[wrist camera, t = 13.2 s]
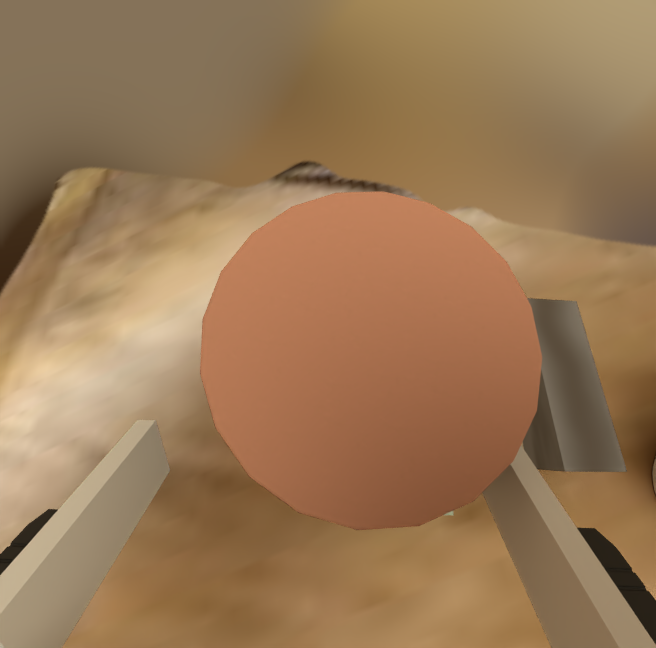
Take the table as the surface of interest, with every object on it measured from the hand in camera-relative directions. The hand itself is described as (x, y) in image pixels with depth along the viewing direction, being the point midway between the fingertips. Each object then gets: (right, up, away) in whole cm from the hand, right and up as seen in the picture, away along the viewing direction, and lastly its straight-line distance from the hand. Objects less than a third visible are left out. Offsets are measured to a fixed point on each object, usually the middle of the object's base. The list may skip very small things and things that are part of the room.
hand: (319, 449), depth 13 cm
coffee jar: (+1, 0, +15) cm, 15 cm away
